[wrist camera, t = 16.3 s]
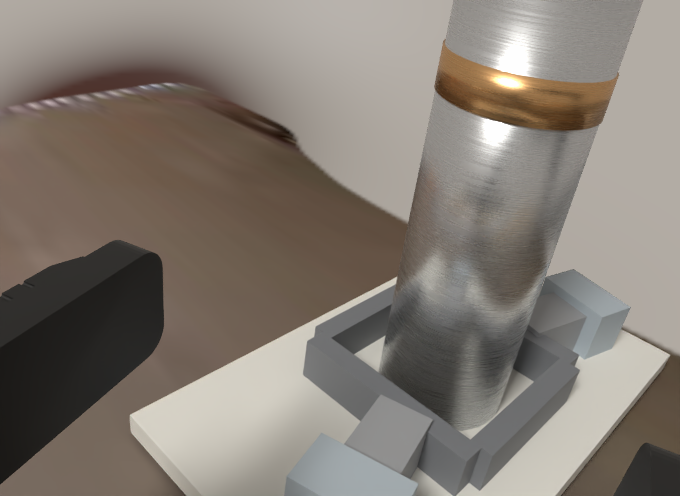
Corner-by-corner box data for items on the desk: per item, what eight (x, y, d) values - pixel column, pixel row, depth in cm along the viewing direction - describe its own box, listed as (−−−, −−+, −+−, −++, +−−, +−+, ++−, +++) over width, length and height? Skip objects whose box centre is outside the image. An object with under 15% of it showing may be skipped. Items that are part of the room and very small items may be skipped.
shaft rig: (456, 257, 33) (469, 207, 31) (663, 368, 27) (691, 314, 25) (130, 432, 20) (126, 363, 19) (381, 718, 14) (404, 651, 13)
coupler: (486, 346, 25) (603, -21, 18) (515, 437, 21) (682, 10, 14) (373, 336, 25) (445, -42, 17) (380, 426, 21) (478, -17, 13)
